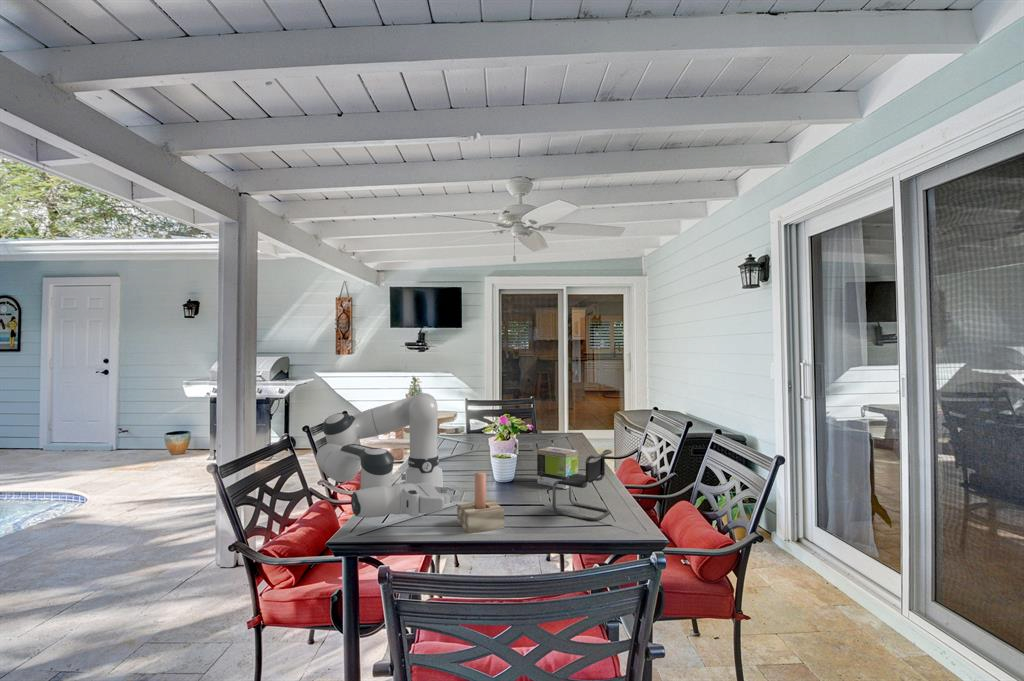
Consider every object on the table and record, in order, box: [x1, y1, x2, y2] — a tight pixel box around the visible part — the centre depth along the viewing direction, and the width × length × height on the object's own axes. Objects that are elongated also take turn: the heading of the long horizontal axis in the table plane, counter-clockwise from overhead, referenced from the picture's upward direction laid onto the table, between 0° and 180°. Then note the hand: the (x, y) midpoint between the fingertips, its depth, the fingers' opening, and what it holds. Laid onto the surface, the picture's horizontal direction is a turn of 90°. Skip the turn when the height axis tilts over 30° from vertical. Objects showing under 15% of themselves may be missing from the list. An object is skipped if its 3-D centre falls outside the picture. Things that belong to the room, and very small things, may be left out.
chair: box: [552, 449, 613, 522], centre depth 181 cm, size 13×17×22 cm
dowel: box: [474, 471, 487, 509], centre depth 168 cm, size 4×4×15 cm
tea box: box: [536, 446, 579, 490], centre depth 219 cm, size 15×10×15 cm, turn 49°
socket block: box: [456, 499, 505, 534], centre depth 168 cm, size 12×12×6 cm
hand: (450, 493), depth 164 cm, fingers open, 8 cm apart
